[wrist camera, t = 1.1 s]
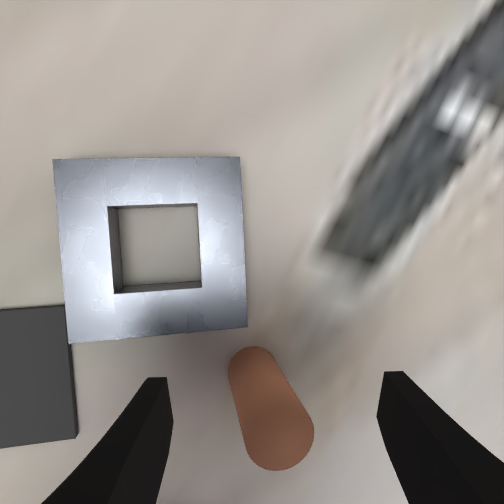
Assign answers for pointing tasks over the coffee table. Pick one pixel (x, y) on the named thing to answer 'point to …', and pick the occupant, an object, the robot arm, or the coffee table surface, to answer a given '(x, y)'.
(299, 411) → the cylinder
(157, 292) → the chuck plate
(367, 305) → the coffee table surface
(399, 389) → the robot arm
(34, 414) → the mat
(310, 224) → the coffee table surface
